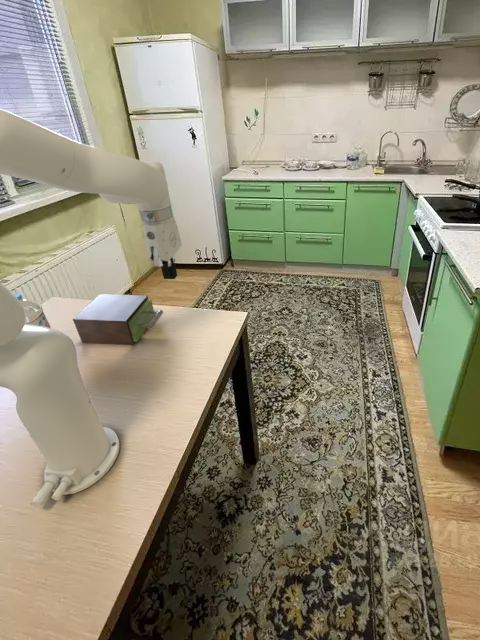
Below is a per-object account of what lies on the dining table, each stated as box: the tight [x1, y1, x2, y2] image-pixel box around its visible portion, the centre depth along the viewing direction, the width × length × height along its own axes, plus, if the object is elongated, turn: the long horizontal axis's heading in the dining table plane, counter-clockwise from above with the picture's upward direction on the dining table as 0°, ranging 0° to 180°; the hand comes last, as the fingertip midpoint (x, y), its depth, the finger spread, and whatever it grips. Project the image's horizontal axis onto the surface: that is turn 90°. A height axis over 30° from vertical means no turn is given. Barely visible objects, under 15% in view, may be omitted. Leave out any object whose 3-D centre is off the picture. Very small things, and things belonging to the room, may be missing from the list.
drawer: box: [128, 298, 164, 343], centre depth 96 cm, size 19×11×7 cm, turn 85°
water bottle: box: [14, 293, 52, 328], centre depth 76 cm, size 7×7×25 cm
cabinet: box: [72, 293, 149, 346], centre depth 96 cm, size 16×13×9 cm
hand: (170, 277), depth 88 cm, fingers closed
